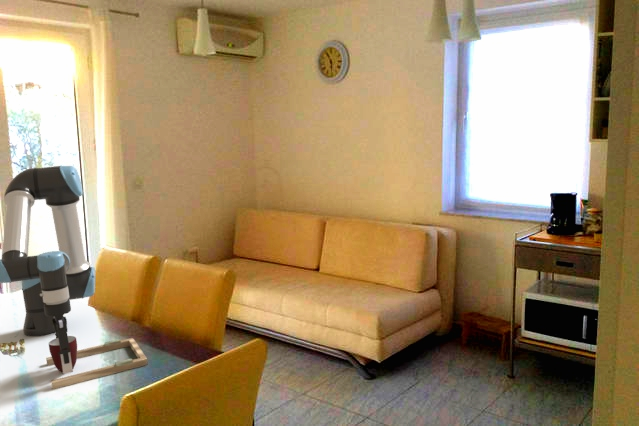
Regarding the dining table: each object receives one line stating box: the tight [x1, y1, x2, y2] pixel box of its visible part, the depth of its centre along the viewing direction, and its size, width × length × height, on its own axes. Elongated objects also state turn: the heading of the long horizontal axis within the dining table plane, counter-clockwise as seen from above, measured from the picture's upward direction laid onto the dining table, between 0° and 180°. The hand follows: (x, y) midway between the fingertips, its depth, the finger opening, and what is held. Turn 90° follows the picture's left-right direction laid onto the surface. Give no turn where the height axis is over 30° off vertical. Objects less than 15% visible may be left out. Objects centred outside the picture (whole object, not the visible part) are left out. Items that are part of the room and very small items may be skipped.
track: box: [45, 337, 149, 390], centre depth 184 cm, size 23×28×3 cm
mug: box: [48, 335, 78, 374], centre depth 179 cm, size 11×8×10 cm
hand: (65, 365), depth 179 cm, fingers open, 13 cm apart
